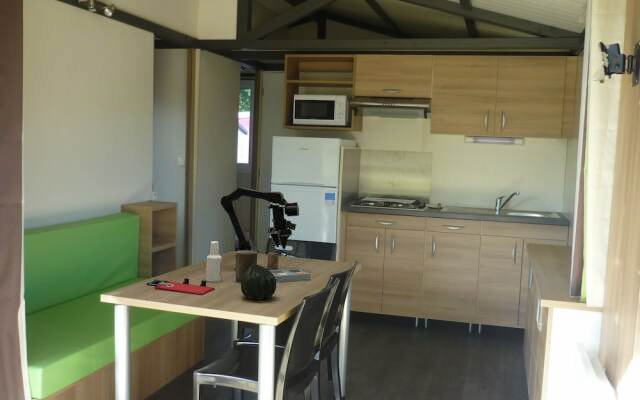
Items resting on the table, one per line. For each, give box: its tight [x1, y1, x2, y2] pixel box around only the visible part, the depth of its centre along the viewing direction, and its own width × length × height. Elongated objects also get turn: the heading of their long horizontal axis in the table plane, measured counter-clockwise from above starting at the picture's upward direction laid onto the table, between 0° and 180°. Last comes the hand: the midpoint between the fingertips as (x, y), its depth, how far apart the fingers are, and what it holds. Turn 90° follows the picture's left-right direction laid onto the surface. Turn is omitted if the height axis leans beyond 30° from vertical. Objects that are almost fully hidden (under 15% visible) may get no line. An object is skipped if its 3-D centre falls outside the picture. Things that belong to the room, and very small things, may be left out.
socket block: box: [270, 268, 311, 284], centre depth 284 cm, size 18×13×3 cm
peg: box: [266, 252, 280, 270], centre depth 294 cm, size 4×4×10 cm
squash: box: [240, 263, 277, 301], centre depth 245 cm, size 14×15×15 cm
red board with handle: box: [145, 277, 216, 296], centre depth 256 cm, size 30×3×15 cm
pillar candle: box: [235, 250, 258, 283], centre depth 274 cm, size 10×10×15 cm
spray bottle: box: [205, 240, 223, 283], centre depth 272 cm, size 7×7×18 cm
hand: (280, 248), depth 294 cm, fingers open, 9 cm apart
